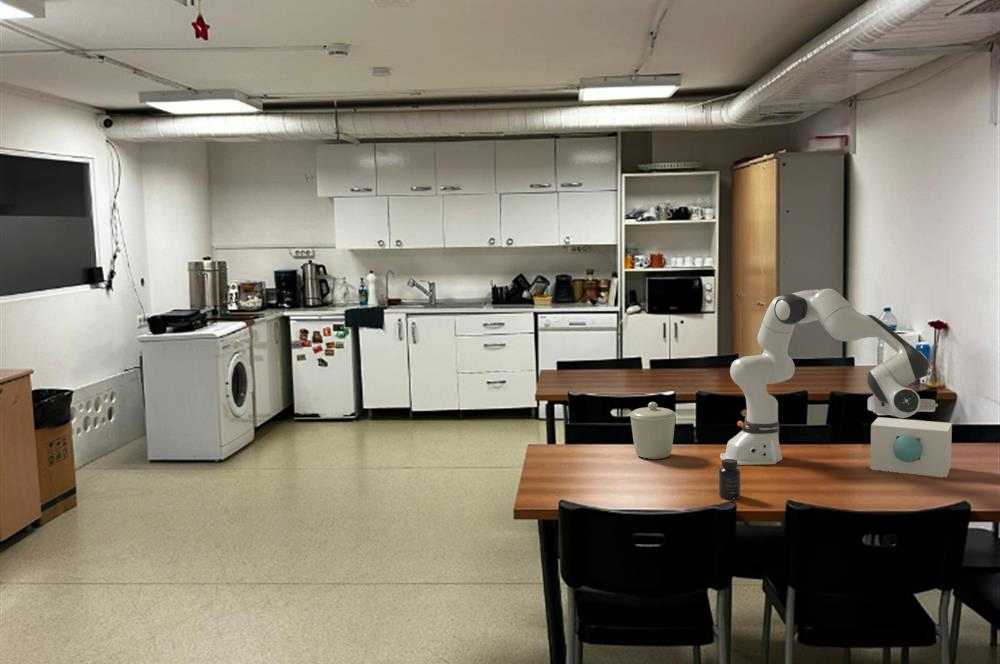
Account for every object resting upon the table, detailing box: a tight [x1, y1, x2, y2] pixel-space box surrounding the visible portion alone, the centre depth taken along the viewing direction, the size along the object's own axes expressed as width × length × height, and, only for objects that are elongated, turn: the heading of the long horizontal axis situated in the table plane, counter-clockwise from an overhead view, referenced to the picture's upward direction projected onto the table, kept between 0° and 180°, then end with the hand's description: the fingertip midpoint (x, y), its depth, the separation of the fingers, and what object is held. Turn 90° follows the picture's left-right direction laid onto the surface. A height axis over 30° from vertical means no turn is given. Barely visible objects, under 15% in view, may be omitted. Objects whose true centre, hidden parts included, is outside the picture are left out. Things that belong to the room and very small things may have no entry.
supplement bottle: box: [718, 459, 742, 500], centre depth 282 cm, size 7×7×12 cm
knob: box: [893, 435, 922, 462], centre depth 306 cm, size 14×9×9 cm, turn 148°
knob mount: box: [869, 416, 953, 479], centre depth 308 cm, size 14×24×16 cm, turn 58°
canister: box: [628, 401, 678, 460], centre depth 335 cm, size 18×18×21 cm
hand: (899, 406), depth 293 cm, fingers closed
